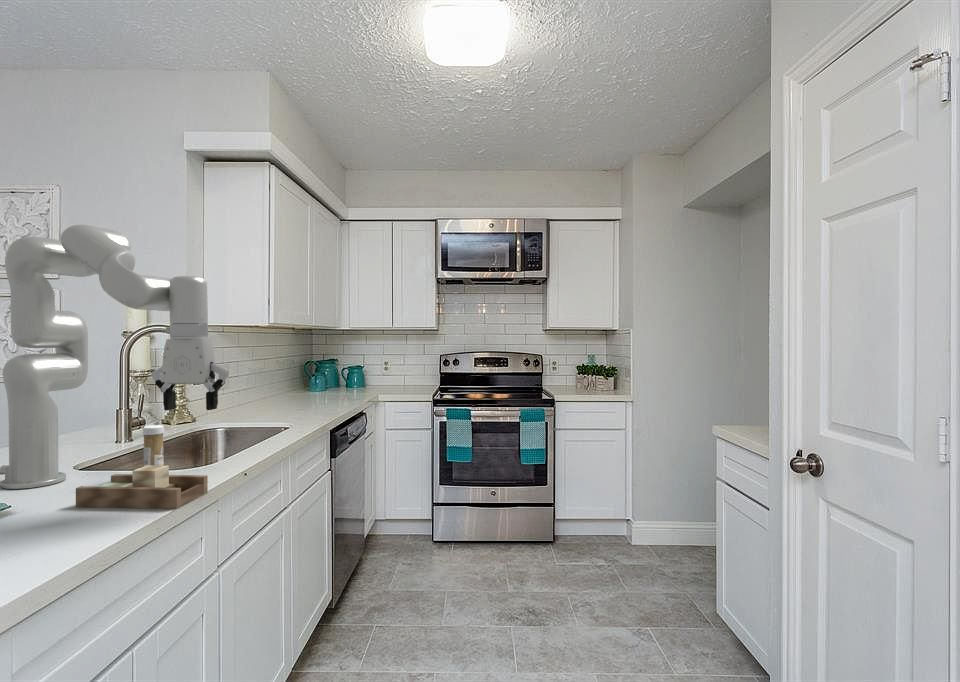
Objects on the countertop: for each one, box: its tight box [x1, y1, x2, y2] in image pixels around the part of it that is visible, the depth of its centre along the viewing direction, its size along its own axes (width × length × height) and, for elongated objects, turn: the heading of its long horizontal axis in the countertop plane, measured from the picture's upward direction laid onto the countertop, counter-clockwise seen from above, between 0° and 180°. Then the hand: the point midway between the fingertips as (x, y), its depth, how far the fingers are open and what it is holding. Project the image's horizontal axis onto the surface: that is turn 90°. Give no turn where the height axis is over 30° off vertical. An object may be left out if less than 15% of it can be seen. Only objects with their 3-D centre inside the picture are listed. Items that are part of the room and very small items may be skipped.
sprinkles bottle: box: [142, 424, 165, 467], centre depth 141 cm, size 5×5×14 cm
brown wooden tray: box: [75, 473, 209, 510], centre depth 124 cm, size 22×12×4 cm, turn 87°
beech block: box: [131, 465, 170, 488], centre depth 124 cm, size 5×5×4 cm
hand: (190, 409), depth 124 cm, fingers open, 9 cm apart
